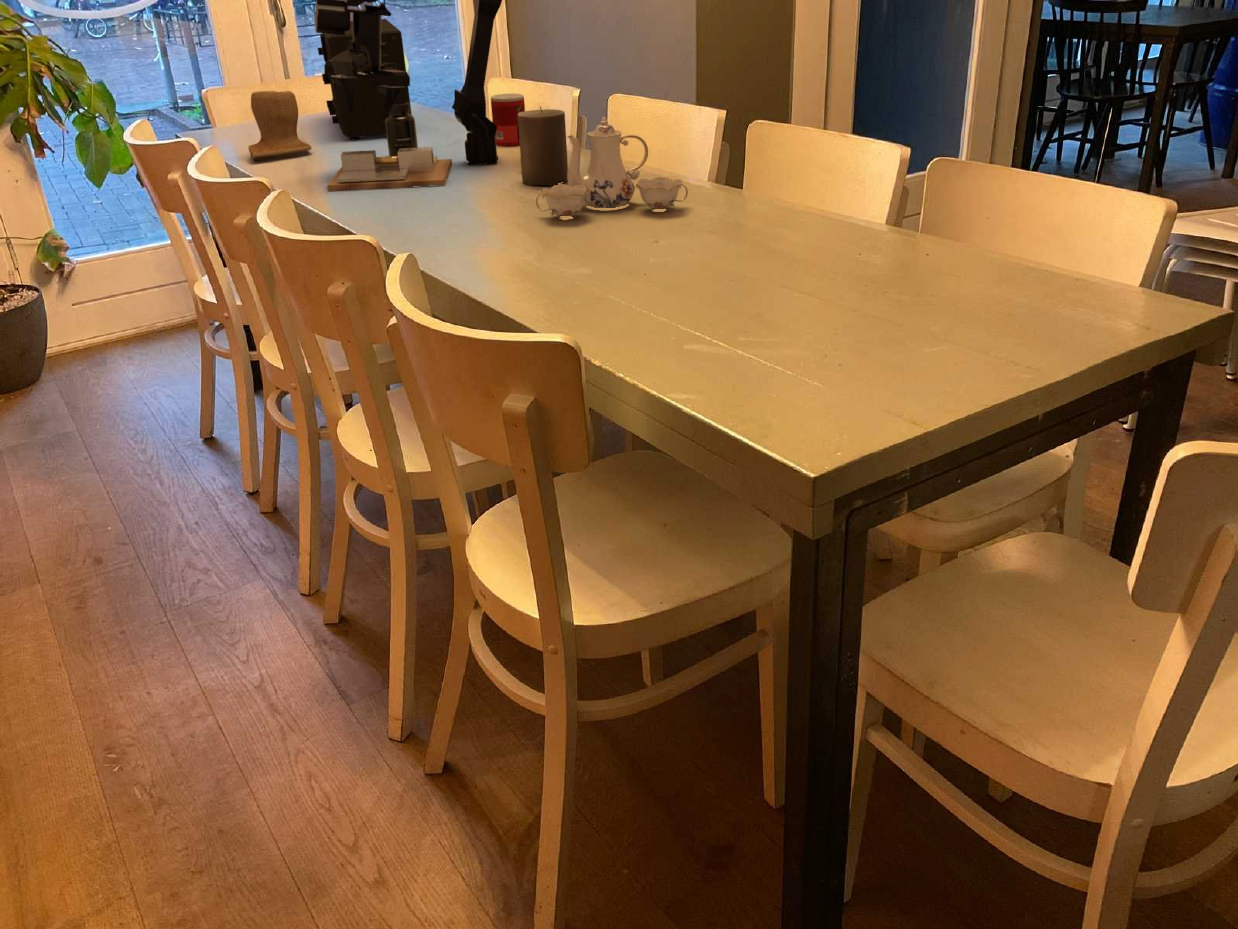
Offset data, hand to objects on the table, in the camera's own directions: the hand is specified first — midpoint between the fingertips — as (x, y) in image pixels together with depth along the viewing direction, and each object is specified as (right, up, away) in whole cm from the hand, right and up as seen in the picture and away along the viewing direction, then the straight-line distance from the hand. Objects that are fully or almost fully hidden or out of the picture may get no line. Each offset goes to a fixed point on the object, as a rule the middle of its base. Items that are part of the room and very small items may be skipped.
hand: (366, 115), depth 218 cm
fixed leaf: (+7, -10, +5) cm, 13 cm away
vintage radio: (-13, +16, +56) cm, 59 cm away
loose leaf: (+2, -13, -2) cm, 13 cm away
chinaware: (+52, -27, -27) cm, 65 cm away
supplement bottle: (+4, -3, +21) cm, 21 cm away
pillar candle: (+39, -16, -5) cm, 42 cm away
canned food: (+28, +3, +30) cm, 41 cm away
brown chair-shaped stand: (-28, -1, +27) cm, 38 cm away
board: (+5, -13, +2) cm, 14 cm away
